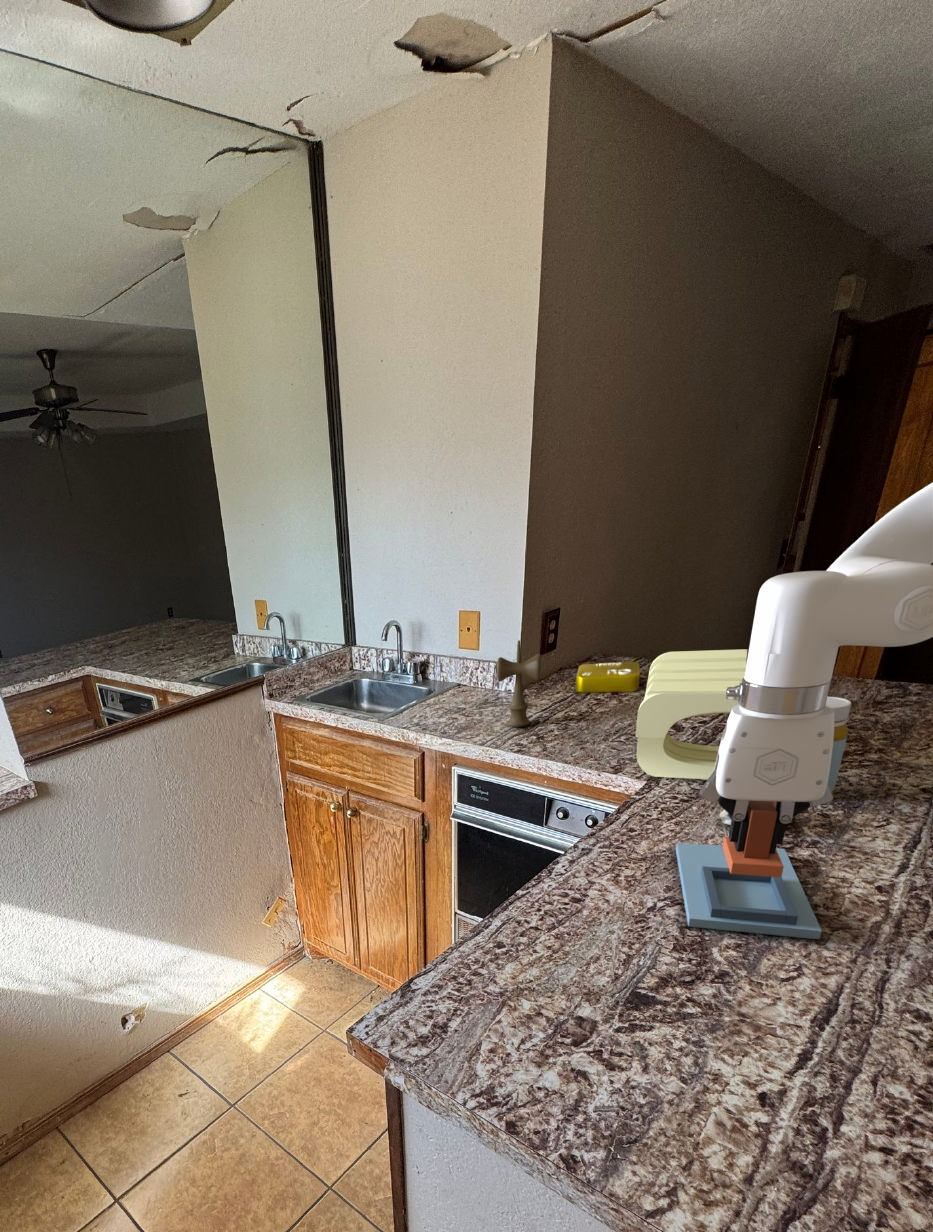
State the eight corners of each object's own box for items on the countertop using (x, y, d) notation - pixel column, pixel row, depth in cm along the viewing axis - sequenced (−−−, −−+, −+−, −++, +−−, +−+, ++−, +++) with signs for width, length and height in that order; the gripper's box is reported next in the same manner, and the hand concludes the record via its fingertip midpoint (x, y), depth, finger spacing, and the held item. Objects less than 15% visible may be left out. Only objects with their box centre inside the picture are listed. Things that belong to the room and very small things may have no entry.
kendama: (539, 728, 151) (541, 641, 142) (496, 730, 154) (495, 644, 145) (540, 720, 156) (542, 635, 147) (498, 722, 159) (497, 639, 150)
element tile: (638, 677, 177) (639, 659, 175) (638, 692, 165) (640, 673, 163) (578, 679, 184) (579, 662, 181) (575, 693, 172) (575, 675, 170)
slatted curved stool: (642, 737, 136) (651, 652, 129) (732, 740, 129) (747, 649, 121) (630, 793, 114) (639, 693, 106) (738, 800, 106) (756, 692, 98)
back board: (783, 856, 90) (786, 840, 89) (819, 939, 74) (824, 922, 72) (675, 850, 95) (677, 835, 94) (688, 926, 79) (690, 910, 78)
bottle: (778, 798, 105) (796, 707, 98) (780, 782, 110) (797, 695, 103) (833, 803, 101) (855, 709, 94) (832, 786, 106) (854, 696, 99)
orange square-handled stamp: (769, 849, 80) (781, 793, 77) (781, 877, 74) (794, 819, 71) (722, 846, 82) (731, 792, 79) (730, 874, 76) (740, 816, 73)
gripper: (699, 707, 70) (678, 857, 78) (890, 704, 63) (846, 868, 71) (692, 689, 76) (674, 830, 84) (866, 684, 69) (828, 837, 77)
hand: (753, 846), depth 77 cm, fingers closed on orange square-handled stamp, 2 cm apart
